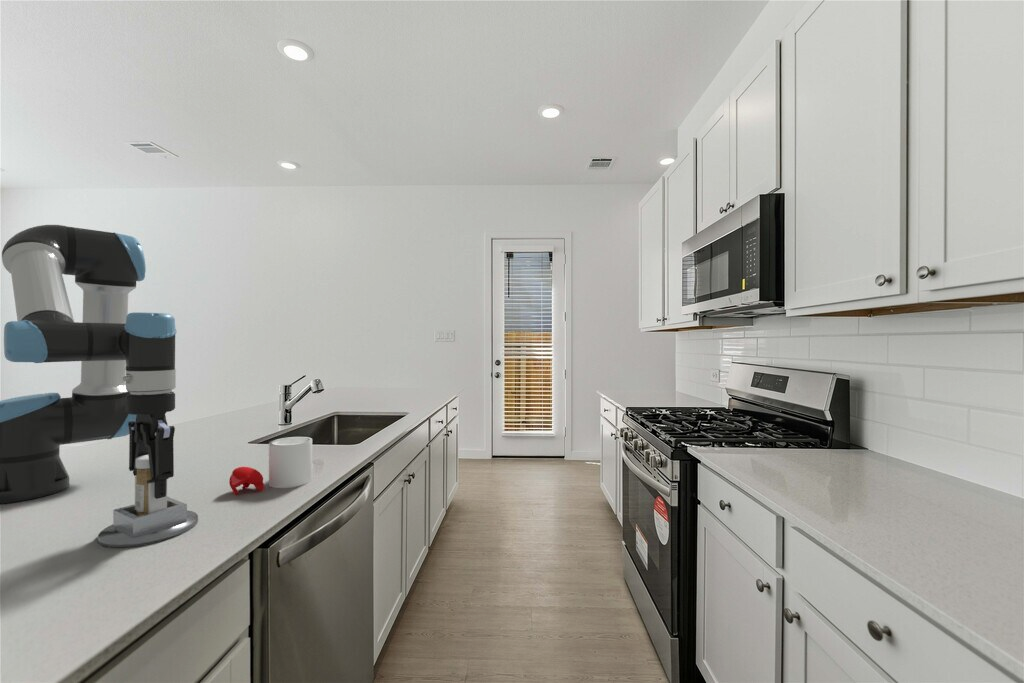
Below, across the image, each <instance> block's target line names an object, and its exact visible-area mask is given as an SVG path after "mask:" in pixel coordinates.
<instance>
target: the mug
mask: <svg viewBox="0 0 1024 683" xmlns="http://www.w3.org/2000/svg"><path fill="white" fill-rule="evenodd" d="M312 481H313V438H311V437H309V436H291V437H290V436H289V437H282V438H277V439H273V440H270V441H269V442H268V486H269V487H272V488H275V489H290V488H296V487H300V486H301V487H302V486H304V485H307V484H308V483H310V482H312Z"/></svg>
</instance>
